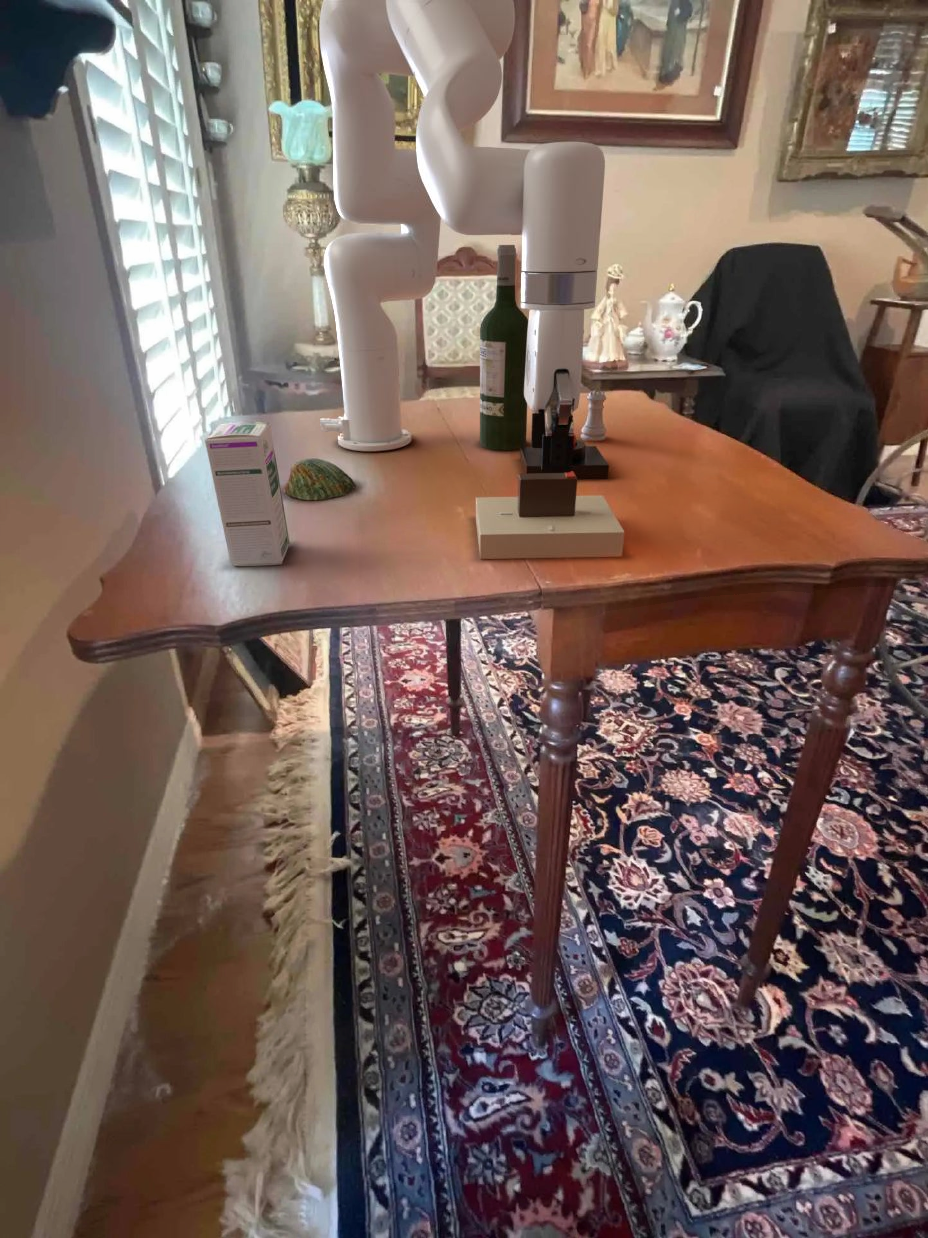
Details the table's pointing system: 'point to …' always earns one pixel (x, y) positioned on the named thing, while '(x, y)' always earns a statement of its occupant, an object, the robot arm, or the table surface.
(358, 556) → the table surface
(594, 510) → the panel
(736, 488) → the table surface
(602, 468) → the button block
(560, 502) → the handle
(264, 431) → the syrup box
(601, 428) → the rook chess piece
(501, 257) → the wine bottle
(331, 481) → the seashell
